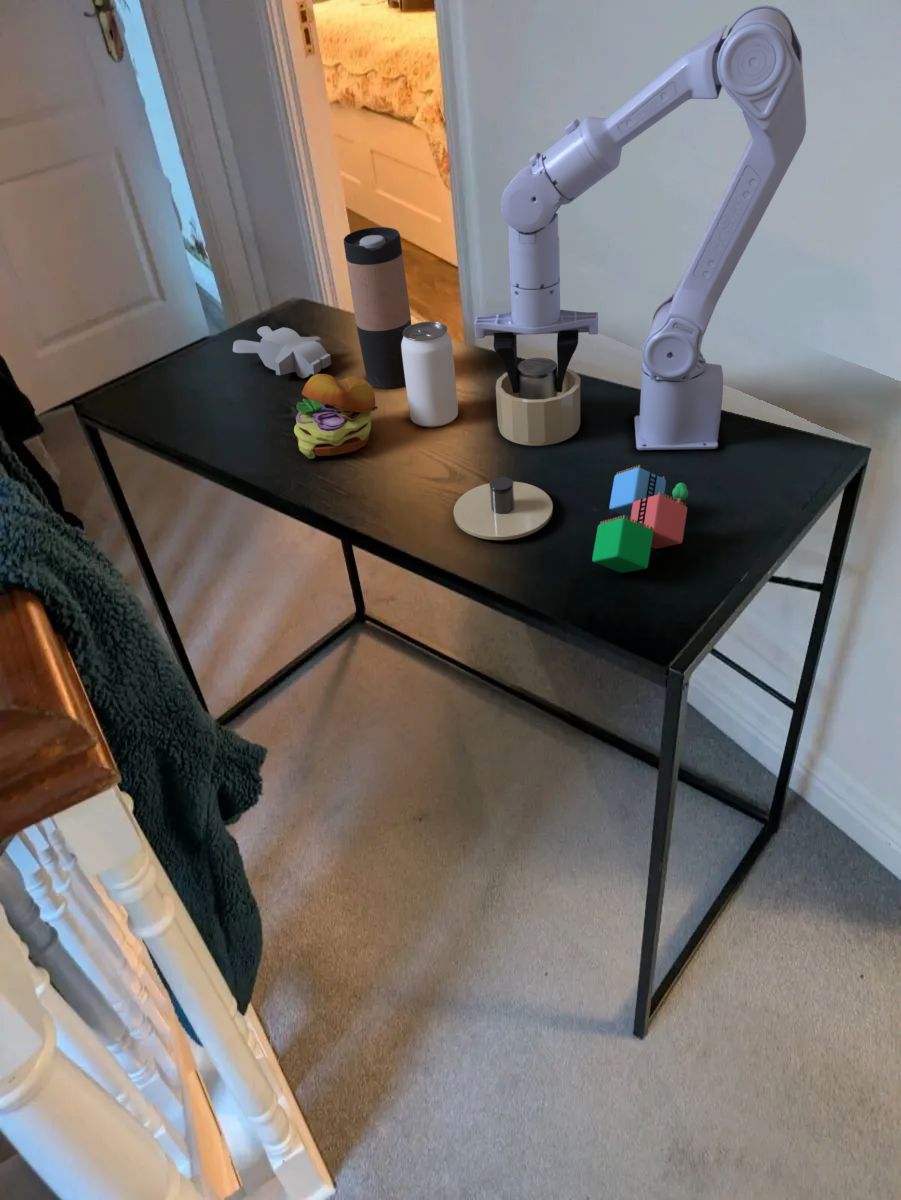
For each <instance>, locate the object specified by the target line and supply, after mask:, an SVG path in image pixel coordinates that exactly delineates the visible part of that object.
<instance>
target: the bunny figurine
mask: <svg viewBox="0 0 901 1200" xmlns="http://www.w3.org/2000/svg"><path fill="white" fill-rule="evenodd" d="M256 332H257V333H256V334H258V335H259V336H260V337H261V339H260V342H259V341H253V340H248V339H237V340H235V341H233V343H232V344H233V345H232V352H233V353H236V354H258V356H259V358H260V360H261V362H262V363H263V365H264V366H265V367H266V368H268V369H270V370H273V371H275V375H276V376H282V375H287V374H291V373H296V375H297V376H298V377H299V378H301V379H305V378H309V376H314V375H316V374H319V373H320V372H321V371H322V369H326V368H327V367H329V366H331V365H332V356H331V354H330V353H328V352H327V351H326V349H325V347H324V346H323V344H322V338H320V337H319V336H318V335H317V336H316V335H315V336H301V335H299V333H298V332H297V331H295V330H294V329H293V328H289V327H279V328H278V329H275V330H272V329H271V327H270V326H267V325H265V326H261V327H258V329H257V330H256Z"/></svg>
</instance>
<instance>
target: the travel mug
mask: <svg viewBox="0 0 901 1200" xmlns="http://www.w3.org/2000/svg"><path fill="white" fill-rule="evenodd" d="M343 247H344V253H345V259H346V267H347V274H348V280H349V288H350V293H351V299H352V300H351V301H352V307H353V312H354V313H353V314H354V319H355V320H354V321H355V325H356V331H357V336H358V341H359V346H360V352H361V356H362V361H363V362H362V363H363V366H364V372H365V376H366V377H365V378H366V381H367V382H368V383H369V384H370V385H371V386H372V388H373V387H374V388H376V389H380V390H381V389H383V390H388V389H389V390H390V389H397V388H401V387H404V386H406V382H405V374H404V366H403V359H402V350H401V343H402V339H403V337H404V336H403V330H404V329H405V328H407V327H408V326H410V325H412V318H411V317H412V315H411V309H410V300H409V293H408V286H407V279H406V269H405V264H404V263H405V262H404V254H403V248H402V240H401V234H400V231H399V230H398V229H396V228H393V227H387V226H376V227H375V226H373V227H366V228H361V229H357V230H354V231H352V232H350V233H349V234H347V235H346V236H345V237H344V238H343Z"/></svg>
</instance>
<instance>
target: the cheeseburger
mask: <svg viewBox="0 0 901 1200" xmlns="http://www.w3.org/2000/svg"><path fill="white" fill-rule="evenodd" d="M301 395H302V396H303V397H305V398H302V400H301V401H302V402H301V401H297V403H296V405H295V407H296V411H297V412H298V413H297V414H296V415H295V421H296V423H295V425H294V428H293V432H294V435H295V436H296V440H297V443H298V449H299V451H300V452H301V453H302V454H303V456H305V457H307V459H311V460H312V459H313V460H314V459H316V458H317V456H318V457H331V456H332V457H333V456H338V455H344V454H348V453H353V452H356V451H358V450H359V449H361V448H363V447H364V446H366V444H367V442H368V440H369V438H370V437H369V436H370V432H371V429H372V419H373V418H372V417H373V412H375V411H376V410H378V409H379V407H378V406H377V405H376V394H375V391H374V389H373V386H371V385H370V384H369V383H368V381H367V380H366V379H363V378H362V377H359V376H347V377H344V378H343V379H336V378H335V376H332V375H330V374H327V373H316V374H314V375H311V377H310V378H309V379H308V380H307V382H306V383H305V384H304V387H303V389H302V391H301Z"/></svg>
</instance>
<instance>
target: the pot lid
mask: <svg viewBox="0 0 901 1200" xmlns="http://www.w3.org/2000/svg"><path fill="white" fill-rule="evenodd" d="M553 513H554V503H553V500H552V498H551V497H550V496H549V494H547V492H545V490H543V489H541V488H539V487H538V486H535V485H533V484H529V483H526V482H521V481H520V482H519V481H514V480H513V479H511V478H510V477H507V476H499V477H495V478H493V479H492V480H491V481H490V482H489V483H488V482H487V483H484V484H481V485H478V486H476V487H473V488H471V489H469V490H468V491H466V492H464V494H462V495H461V496H460V497H459V498H458V499H457V501H455V504H454V507H453V519H454V522H455V523H456V525H457V527H458V528H459V529H460V530H462V531H463V532H465V533H466V534H468V535H470V536H473V537H476V538H479V539H483V540H489V541H509V540H517V539H520V538H524V537H527V536H530V535H532V534H534V533H536V532H539V531H540V530H541V529H542V528H544V527H545V526H546V525H547V524H548V523H549V521H550V520H551V519H552V516H553Z"/></svg>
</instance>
